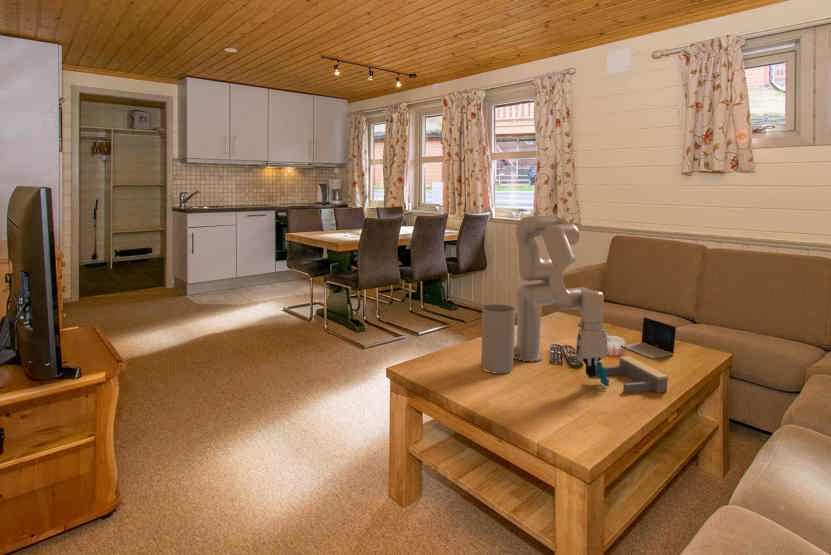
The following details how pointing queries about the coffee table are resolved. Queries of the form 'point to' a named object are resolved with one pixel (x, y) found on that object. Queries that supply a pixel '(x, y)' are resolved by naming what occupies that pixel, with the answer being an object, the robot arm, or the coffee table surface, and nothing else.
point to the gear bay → (639, 376)
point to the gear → (601, 374)
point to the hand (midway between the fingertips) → (590, 375)
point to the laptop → (655, 339)
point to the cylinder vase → (498, 338)
